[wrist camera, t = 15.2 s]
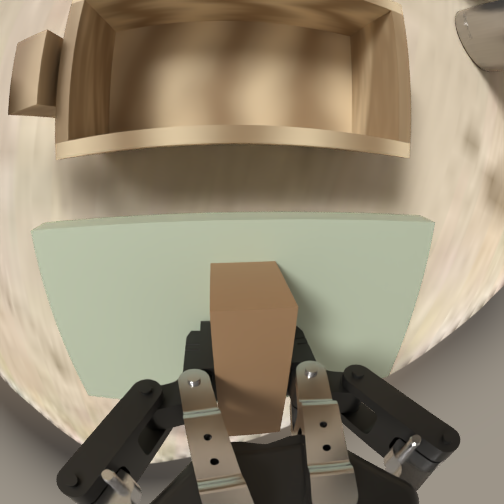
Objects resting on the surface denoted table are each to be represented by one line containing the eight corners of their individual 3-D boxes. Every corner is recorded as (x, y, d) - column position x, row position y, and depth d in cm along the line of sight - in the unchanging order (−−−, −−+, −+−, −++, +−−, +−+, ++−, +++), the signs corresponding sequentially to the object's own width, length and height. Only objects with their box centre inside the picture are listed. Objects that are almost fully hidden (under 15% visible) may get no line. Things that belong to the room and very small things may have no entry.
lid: (419, 215, 15) (483, 246, 10) (379, 364, 19) (411, 413, 14) (44, 222, 12) (-16, 261, 7) (94, 381, 17) (74, 438, 12)
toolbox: (354, 33, 18) (412, -2, 10) (355, 151, 23) (423, 160, 14) (81, 36, 16) (29, 1, 7) (74, 157, 20) (8, 170, 11)
